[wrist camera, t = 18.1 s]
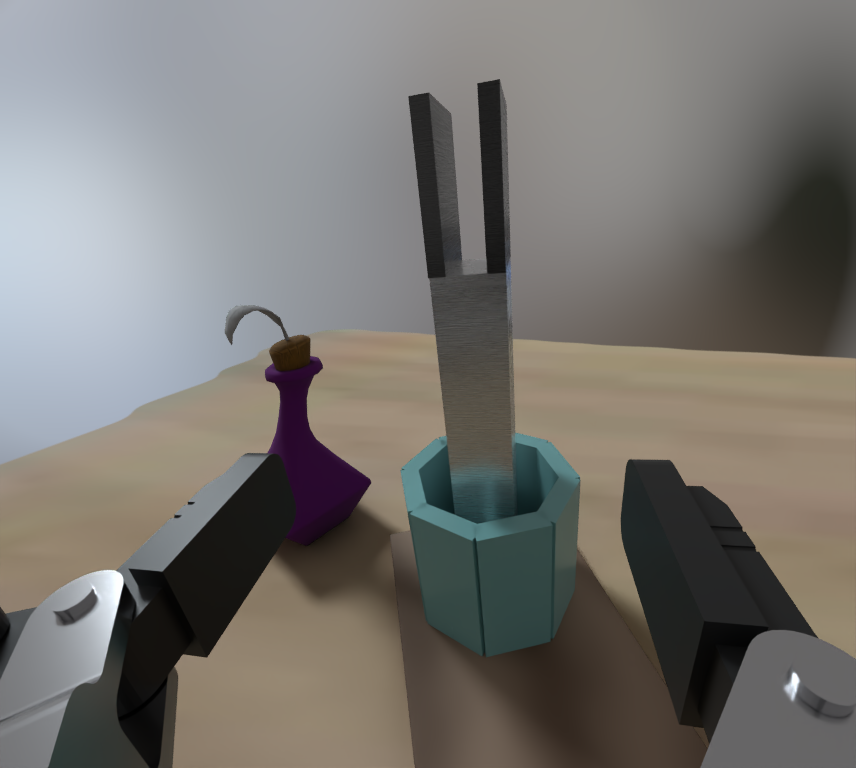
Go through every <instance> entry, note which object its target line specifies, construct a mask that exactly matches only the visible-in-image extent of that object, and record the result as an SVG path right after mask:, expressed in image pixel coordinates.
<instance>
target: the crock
mask: <svg viewBox="0 0 856 768" xmlns="http://www.w3.org/2000/svg"><path fill="white" fill-rule="evenodd" d="M515 440H516V475H517V511H518V516H513V517H508V518H504V519H499V520H494V521H489V522H484V523H479V524H476V523H474V522H471V521H469V520H466V519H464V518H461V517H459V516H456V515H455V511H454V502H453V492H452V483H451V474H450V465H449V455H448V446H447V437H446V436H443V437H439V439H435V440H434V441H433V442H431V443H430V444H429V445H428V446H427V447H426V448H424V449H423V450H422V451H421V452H420V453H419V454H417V455H416V456H415V457H414V458H413V459H412V460H410V461H409V462H408V463H407V464H406V465H405V466H404V467H402V470H401V476H402V482H403V488H404V494H405V500H406V506H407V512H408V518H409V524H410V530H411V536H412V542H413V548H414V554H415V560H416V566H417V572H418V578H419V584H420V590H421V596H422V601H423V607H424V613H425V619H426V621H427V622H428V624H429V625H431V626H432V627H434V628H436V629H437V630H439V631H441V632H442V633H444V634H446V635H447V636H449V637H451V638H452V639H454V640H456V641H457V642H459V643H461V644H462V645H464V646H465V647H467V648H469V649H470V650H472V651H474V652H475V653H477V654H479V655H480V656H483V654H484V653H485V655H486V657H490V656H494V655H498V654H502V653H506V652H510V651H514V650H519V649H523V648H527V647H531V646H535V645H539V644H543V643H548V642H551V639H554V637H555V634H556V632H557V630H558V628H559V625H560V623H561V621H562V618H563V616H564V614H565V611H566V609H567V607H568V604H569V602H570V600H571V598H572V595H573V593H574V591H575V577H576V557H577V537H578V518H579V498H580V476H579V475H578V474H577V473H576V472H575V470H574V469H573V468H572V467H571V466H570V465H569V463H568V462H567V461H566V460H565V459H564V457H563V456H562V455H561V454H560V453H559V451H558V450H557V449H556V448H555V447H554V445H553V444H552V443H551V442H548V440H544V439H539V438H535V437H531V436H527V435H523V434H519V433H515Z"/></svg>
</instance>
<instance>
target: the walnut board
mask: <svg viewBox="0 0 856 768" xmlns="http://www.w3.org/2000/svg"><path fill="white" fill-rule="evenodd" d="M390 539H391V548H392V558H393V567H394V576H395V586H396V595H397V604H398V614H399V623H400V633H401V642H402V651H403V661H404V670H405V680H406V689H407V698H408V708H409V717H410V727H411V736H412V745H413V755H414V764H415V768H700V767H701V765H702V762H703V760H704V757H705V755H706V752H707V750H708V749H707V748H706V746H705V745H704V743H703V742H702V740H701V738H700V737H699V735H698V734H697V732H696V731H695V729H694V728H693V726H686V725H679V723H678V719H677V716H676V713H675V710H674V707H673V703H672V700H671V697H670V694H669V690H668V688H667V686H666V685H665V683H664V682H663V680H662V679H661V677H660V676H659V674H658V672H657V671H656V669H655V668H654V666H653V665H652V663H651V662H650V660H649V659H648V657H647V656H646V654H645V652H644V651H643V649H642V648H641V646H640V645H639V643H638V642H637V640H636V639H635V637H634V636H633V634H632V633H631V631H630V629H629V628H628V626H627V625H626V623H625V622H624V620H623V619H622V617H621V616H620V614H619V613H618V611H617V609H616V608H615V606H614V605H613V603H612V602H611V600H610V599H609V597H608V596H607V594H606V593H605V591H604V590H603V588H602V586H601V585H600V583H599V582H598V580H597V579H596V577H595V576H594V574H593V573H592V571H591V570H590V568H589V566H588V565H587V563H586V562H585V560H584V559H583V557H582V556H581V554H580V553H579V551H578V550H577V557H576V577H575V591H574V593H573V595H572V598H571V600H570V602H569V604H568V607H567V609H566V611H565V614H564V616H563V618H562V621H561V623H560V625H559V628H558V630H557V632H556V634H555V637H554V639H551V642H548V643H543V644H539V645H535V646H531V647H527V648H523V649H519V650H514V651H510V652H506V653H502V654H498V655H494V656H490V657H486V655H485V653H484V654H483V656H480V655H479V654H477V653H475V652H474V651H472V650H470V649H469V648H467V647H465V646H464V645H462V644H461V643H459V642H457V641H456V640H454V639H452V638H451V637H449V636H447V635H446V634H444V633H442V632H441V631H439V630H437V629H436V628H434V627H432V626H431V625H429V624H428V622H427V621H426V619H425V613H424V607H423V601H422V596H421V590H420V584H419V578H418V572H417V566H416V560H415V554H414V548H413V542H412V536H411V530H410V531H406V532H401V533H396V534H391V535H390Z"/></svg>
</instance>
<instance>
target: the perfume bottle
mask: <svg viewBox="0 0 856 768" xmlns="http://www.w3.org/2000/svg"><path fill="white" fill-rule="evenodd" d="M256 310H258V311H260V312H262V313H263V314H265V315H267V316H268V317H270V318H271V319H272V320H273V321H274V322H275V323H277V324H278V325H279V326H280V327H281V329H282V331H283V334H284V337H285V339H284V340H281V341H279V342H277V343H276V344H274V345H273V346H272V347H271V349H270V350H269V353H270V356H271V358H272V361H273V364H272V365H270V366H269V367H268V368H267V369H266V370H265V377H266V380H267V381H269V382H273V383H275V384H276V386H277V388H278V389H279V391H280V409H279V418H278V424H277V430H276V434H275V437H274V440H273V442H272V445H271V448H270V449H269V451H268V453H267V454H278V455H279V456H280V457H281V459H282V461H283V463H284V467H285V470H286V473H287V476H288V480H289V483H290V486H291V490H292V493H293V496H294V499H295V503H296V516H295V520H294V524H293V526H292V528H291V530H290V531H289V533H288V534H287V536H286V537H285V538H287V539H290V540H292V541H295V542H297V543H300V544H302V545H305V546H306V545H309V544H310V543H312V542H313V541H315V540H316V539H318V538H319V537H321V536H322V535H323V534H325V533H326V532H328V531H329V530H331V529H332V528H334V527H335V526H337V525H338V524H339V523H341V522H342V521H344V520H345V519H347V518H348V517H349V516H350V515H351V513H352V512H353V510H354V508H355V507H356V505H357V504H358V502H359V501H360V499H361V498H362V496H363V495H364V493H365V492H366V490H367V489H368V487H369V486H370V484H371V480H370V479H369V478H368V477H366V476H365V475H363V474H362V473H361V472H359V471H358V470H356V469H355V468H353V467H352V466H351V465H349V464H348V463H346V462H345V461H344V460H342V459H341V458H339V457H338V456H336V455H335V454H334V453H333V452H331V451H330V450H329V449H328V448H326V447H325V446H324V445H323V444H321V443H320V442H319V441H318V440H316V438H315V437H314V435H313V433H312V431H311V430H310V427H309V422H308V418H307V394H308V389H309V386H310V384H311V381H312V379H313V377H314V375H316V374H318V373H319V372H320V371H321V369H322V368H323V365H322V363H321V361H320V359H319V358H317V357H312V356H310V338H309V337H308V336H305V335H297V336H293V337H288V335H287V333H286V331H285V329H284V327H283V324H282V322H281V319H280V317H278V316H277V315H275V314H274V313H273V312H271V311H269V310H267V309H265V308H262V307H258V306H254V305H251V306H235V307H234V308H232V309H231V310H230V311H229V312H228V315H227V317H226V327H225V334H226V336H227V338H228V340H229V342H230V343H231V345H232V338H233V333H234V331H235V329H236V327H237V325H238V323H239V321H240V320H241V319H242V318H243V317H244V315H246V314H248V313H250V312H252V311H256Z"/></svg>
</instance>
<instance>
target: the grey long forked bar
mask: <svg viewBox="0 0 856 768" xmlns="http://www.w3.org/2000/svg"><path fill="white" fill-rule="evenodd" d="M477 85H478V105H479V124H480V140H481V141H480V142H481V143H480V144H481V162H482V182H483V201H484V222H485V242H486V258H484V259H472V260H462V255H461V254H462V253H461V240H460V226H459V215H458V201H457V200H458V199H457V186H456V173H455V160H454V147H453V132H452V120H451V113H450V112H449V111H448V110H447V109H445V108H444V107H443V106H442V105H441V104H440V103H439V102H438V101H437V100H436V99H435V98H434V97H433V96H432V95H431V94H430V93H424V94H418V95H413V96H409V105H410V114H411V124H412V133H413V143H414V152H415V161H416V170H417V179H418V188H419V198H420V207H421V216H422V225H423V234H424V243H425V253H426V262H427V271H428V278H429V279H430V287H431V297H432V307H433V316H434V325H435V334H436V344H437V353H438V362H439V372H440V381H441V390H442V399H443V409H444V418H445V427H446V437H447V446H448V455H449V465H450V474H451V483H452V492H453V502H454V511H455V515H456V516H459V517H461V518H464V519H466V520H469V521H471V522H474V523H476V524H479V523H484V522H489V521H494V520H499V519H504V518H508V517H513V516H518V511H517V475H516V440H515V404H514V368H513V333H512V299H511V261H510V256H511V255H510V220H509V219H510V218H509V183H508V151H507V149H508V147H507V111H506V101H505V98H504V94H503V90H502V87H501V83H500V79H499V80H494V81H488V82H483V83H478V84H477Z"/></svg>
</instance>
